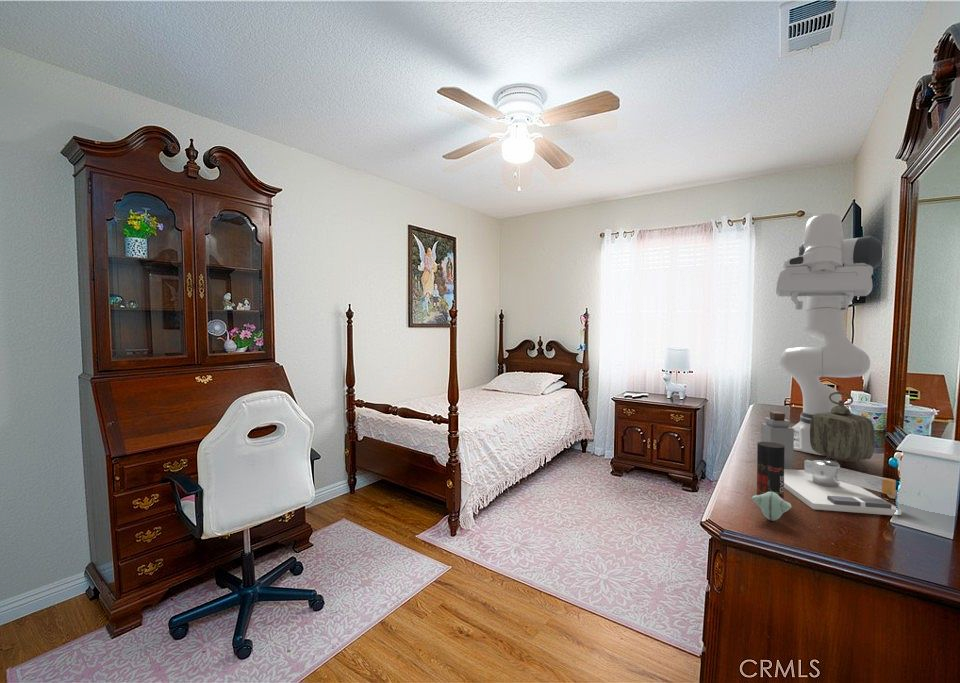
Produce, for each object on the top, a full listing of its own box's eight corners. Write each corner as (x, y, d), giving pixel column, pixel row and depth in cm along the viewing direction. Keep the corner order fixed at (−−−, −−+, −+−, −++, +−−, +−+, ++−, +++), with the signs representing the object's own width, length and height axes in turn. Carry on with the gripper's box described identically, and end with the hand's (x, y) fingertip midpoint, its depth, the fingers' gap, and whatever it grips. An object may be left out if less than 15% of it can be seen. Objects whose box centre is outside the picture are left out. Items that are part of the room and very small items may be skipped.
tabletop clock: (874, 473, 132) (876, 394, 131) (854, 476, 129) (855, 396, 129) (825, 460, 146) (826, 388, 145) (806, 462, 143) (807, 389, 142)
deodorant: (759, 494, 116) (760, 440, 115) (785, 500, 112) (786, 444, 111) (754, 500, 112) (755, 444, 111) (781, 506, 107) (782, 449, 107)
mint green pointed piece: (750, 517, 101) (750, 490, 101) (753, 512, 104) (754, 485, 104) (790, 528, 96) (791, 499, 96) (793, 522, 99) (793, 494, 99)
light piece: (800, 479, 122) (800, 457, 122) (810, 475, 125) (811, 454, 125) (888, 503, 105) (889, 478, 105) (898, 498, 108) (899, 474, 108)
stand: (763, 472, 133) (763, 464, 133) (832, 476, 129) (832, 468, 129) (812, 509, 106) (812, 499, 106) (902, 516, 102) (902, 505, 102)
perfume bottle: (793, 469, 136) (794, 414, 135) (770, 468, 137) (770, 414, 136) (782, 463, 142) (783, 410, 142) (760, 462, 144) (761, 410, 143)
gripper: (870, 269, 112) (871, 314, 108) (777, 272, 124) (774, 313, 120) (875, 255, 108) (876, 302, 103) (778, 260, 119) (775, 302, 115)
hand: (820, 308), depth 112 cm, fingers open, 8 cm apart
